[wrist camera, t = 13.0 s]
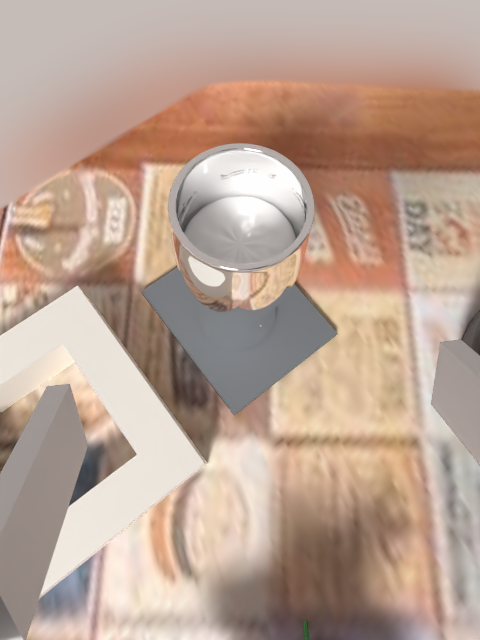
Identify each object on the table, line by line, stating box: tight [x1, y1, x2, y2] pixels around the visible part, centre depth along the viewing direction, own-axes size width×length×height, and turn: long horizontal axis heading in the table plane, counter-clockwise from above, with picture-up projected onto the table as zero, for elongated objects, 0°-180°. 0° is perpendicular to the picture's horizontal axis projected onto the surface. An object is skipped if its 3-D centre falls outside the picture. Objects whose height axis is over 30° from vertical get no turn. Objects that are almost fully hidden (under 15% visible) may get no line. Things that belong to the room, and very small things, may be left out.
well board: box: [0, 286, 208, 598], centre depth 29 cm, size 15×15×4 cm
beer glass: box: [168, 143, 315, 350], centre depth 26 cm, size 7×7×15 cm
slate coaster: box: [141, 267, 338, 415], centre depth 34 cm, size 10×12×1 cm
